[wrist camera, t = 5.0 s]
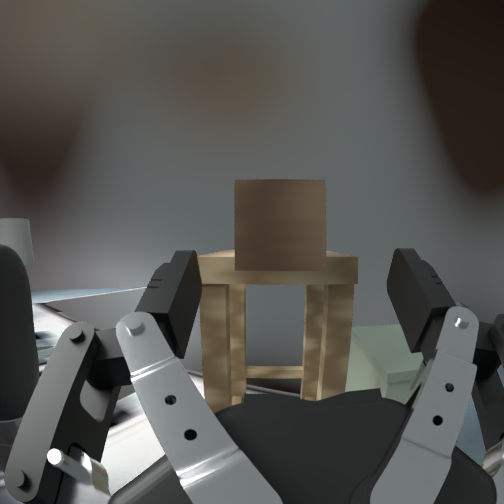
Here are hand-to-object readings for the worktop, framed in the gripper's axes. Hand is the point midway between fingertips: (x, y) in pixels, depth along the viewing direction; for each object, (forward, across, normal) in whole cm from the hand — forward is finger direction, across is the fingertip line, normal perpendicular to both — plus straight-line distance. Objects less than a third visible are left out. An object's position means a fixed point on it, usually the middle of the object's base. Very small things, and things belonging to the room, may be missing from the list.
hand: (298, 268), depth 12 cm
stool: (-1, -1, -37) cm, 37 cm away
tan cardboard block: (+12, -1, -7) cm, 14 cm away
